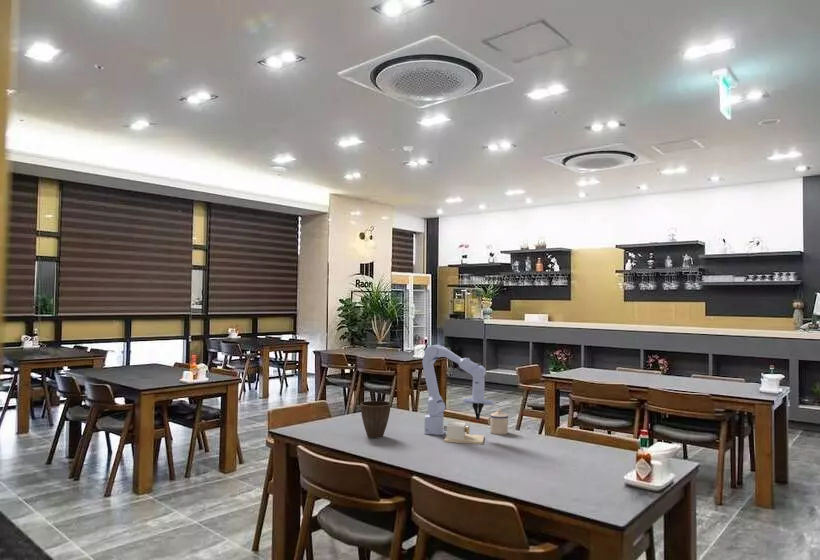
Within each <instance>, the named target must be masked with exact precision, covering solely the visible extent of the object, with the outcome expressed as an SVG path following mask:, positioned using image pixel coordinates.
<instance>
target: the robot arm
mask: <svg viewBox="0 0 820 560" xmlns="http://www.w3.org/2000/svg"><path fill="white" fill-rule="evenodd" d="M423 352H424V354H423V358H422V361H421V364H422V368H423V372H424V374H423V375H424V380H425V384H426V388H427V393H428V399H427V400H428V401H427V408H426V409H427V413H428V414H425V416H424V431H423V432H424V434H425V435H438V436H440V435H441V436H443V435H444V434H445V432H446V431H444V417H445V416H444V415H445V414H444V412H445V410H446V403H445V401H444V400H443V397H442V396H441V395H440V392H439V390H440V389H439V385H438V381H437V376H436V371H435V367H434V365H435V362H436V361H437V360H438V359H439V358H446V359H448V360H450V361H452V362H454V363H455V364H458V367H459V369H461V370H463V371H465V372H467V373H468V374H469V375H471V377H472V395H471V396H472V398H463V399H462V404H464V405H465V404H467V405H468V404H470V405H471V406H472V408H473V410H474V414H475V420H480V416H481V413H482V410H483V407H484V406H485V405H488V406H493V405H494V400H489V399H485V385H486V384H485V376H486V374H487V370H486V369H487V368H485V366H483V365H481V364H479V363H475V362H474V361H472V360H471V359H470V358H469V357H463V358H462V357H461V356H459V355H457V354H456V353H454V352H453V351H452V350H449V349H448V348H447V347H445V346H443V345H441V344H433V345H428V346H426V348H425V350H423Z"/></svg>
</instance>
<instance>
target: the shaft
mask: <svg viewBox="0 0 820 560" xmlns="http://www.w3.org/2000/svg"><path fill="white" fill-rule="evenodd" d="M443 431H445V432H447V425H443ZM464 432H465V434H470V425H466V426H465V427H464Z"/></svg>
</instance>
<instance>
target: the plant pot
mask: <svg viewBox="0 0 820 560" xmlns="http://www.w3.org/2000/svg"><path fill="white" fill-rule="evenodd" d="M359 404H360V412H361V419H362V423H363V426H364V430H365V434H366V436H367V437H368V438H370V439H381V438H383V437H384V434H385V431H386V428H387V425H388V421H389V419H390V417H389V416H390V413H391V406H392V403H391V402H389V401H385V400H384V401H382V400H381V401H380V400H370V401H368V400H367V401H362V402H360V403H359Z"/></svg>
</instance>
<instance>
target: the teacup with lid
mask: <svg viewBox="0 0 820 560" xmlns="http://www.w3.org/2000/svg"><path fill="white" fill-rule="evenodd" d="M487 422H488V425H489V426H490V433H491V434H493V435H500V436H501V435H502V436H503V435H507V434H508V433H509V432H508V431H509V430H508V429H509V428H508V424H509V423H508V422H509V415H508V414H507V413H505V412H503V411H502V409H497V410H496V411H495V412H491V413H490V415H489V416H488V418H487Z"/></svg>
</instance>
